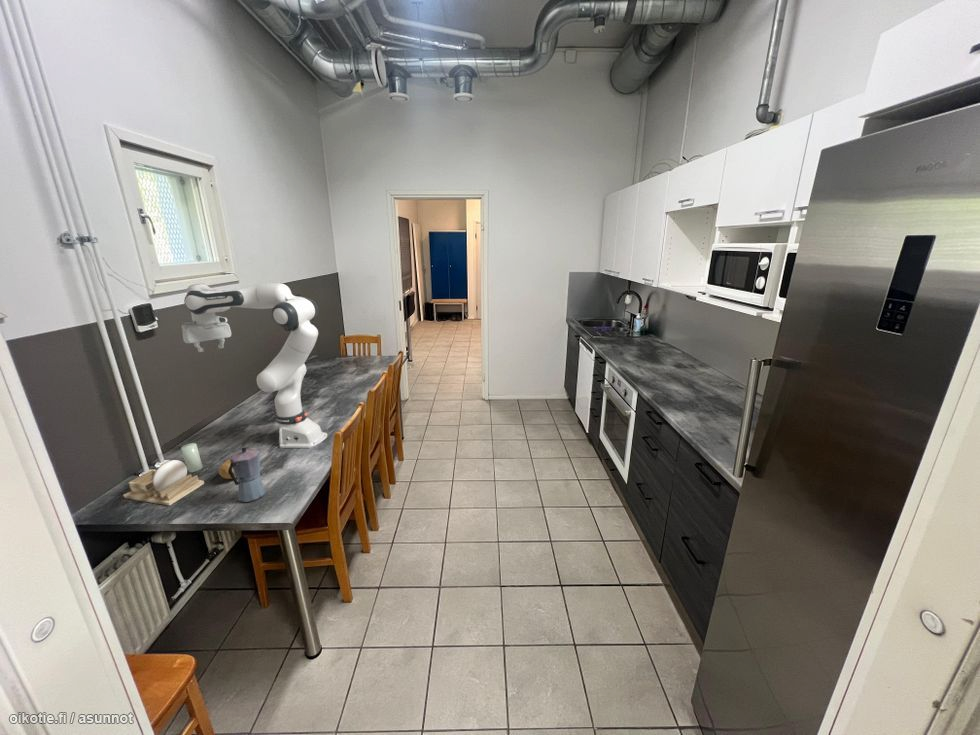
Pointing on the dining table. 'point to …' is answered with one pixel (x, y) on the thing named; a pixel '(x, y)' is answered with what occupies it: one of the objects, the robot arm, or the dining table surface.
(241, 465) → the moka pot
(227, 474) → the potato
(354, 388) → the dining table surface
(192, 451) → the pale green glossy part
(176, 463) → the rack
